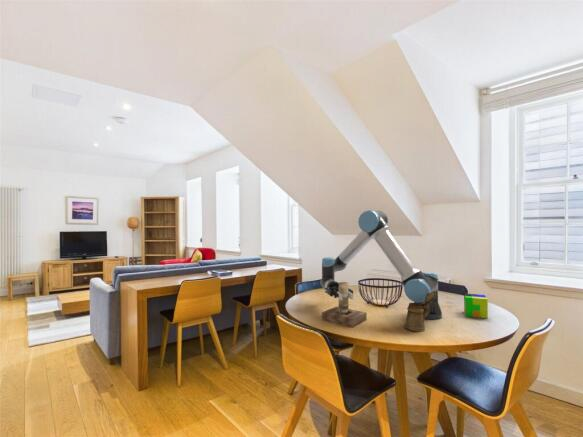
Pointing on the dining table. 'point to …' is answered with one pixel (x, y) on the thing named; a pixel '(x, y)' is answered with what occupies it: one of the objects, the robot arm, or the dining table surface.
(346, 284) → the birch peg
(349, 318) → the walnut board
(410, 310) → the wooden mug
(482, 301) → the puzzle toy
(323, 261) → the robot arm
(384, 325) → the dining table surface
